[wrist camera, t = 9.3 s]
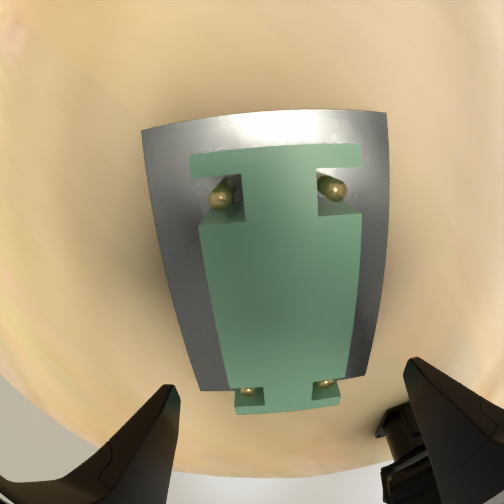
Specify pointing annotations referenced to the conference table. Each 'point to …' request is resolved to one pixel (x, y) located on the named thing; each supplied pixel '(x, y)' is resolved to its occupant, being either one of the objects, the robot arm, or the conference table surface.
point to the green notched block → (282, 274)
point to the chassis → (230, 192)
